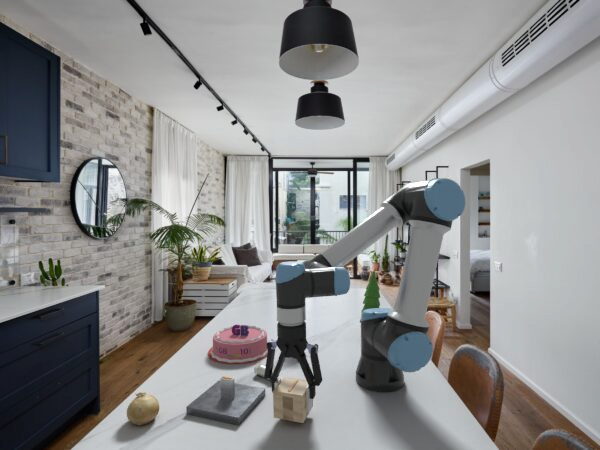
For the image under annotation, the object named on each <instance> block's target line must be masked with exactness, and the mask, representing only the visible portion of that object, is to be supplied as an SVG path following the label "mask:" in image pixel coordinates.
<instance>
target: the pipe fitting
mask: <svg viewBox="0 0 600 450" xmlns="http://www.w3.org/2000/svg"><path fill="white" fill-rule="evenodd" d="M265 367H266V364H265V365H263V364H262V363H256V365H254V367H253V373H254V374H255V375H258V376H261V377H262V378H265V377H264V375H265ZM275 367H276V365H275V364H274V363H273V370H272V373H273V372H274V369H275ZM266 380H269V381H271V380H270V379H268V378H267V379H266Z"/></svg>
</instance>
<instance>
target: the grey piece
mask: <svg viewBox="0 0 600 450" xmlns="http://www.w3.org/2000/svg"><path fill="white" fill-rule="evenodd" d="M235 381H236V380H235V377H231V376H227V375H223V376H222V377H220V379H219V380H217V381H216V382H215V383H214V384H213V385H211V386H210V387H209V388H207V389H206V390H205V391H204V392H203V393H201V395H199V396H198V397H197V398H196V399H194V400H193V401H191V402H190V403H189V404H188V405H187V406H186V409H185V412H186V415H188V416H189V415H190V416H194V417H198V418H202V419H207V420H211V421H218V422H222V423H226V424H230V425H235V426H240V424H241V423H243V421H244V420H245V419H246V418H247V417H248V416H249V415H250V413H251V412H253V410H254V409H255V408H256V406H258V404H259V403H260V402H261V400H262V399H264V397H265V396H266V388H264V387H260V386H254V385H247V384H241V383H237V382H235Z"/></svg>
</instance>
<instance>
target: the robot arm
mask: <svg viewBox="0 0 600 450" xmlns="http://www.w3.org/2000/svg"><path fill="white" fill-rule="evenodd" d="M465 208H466V195H465V193H464V190H462V188H461V186H460V185H459V184H458V183H457V182H456V181H455V180H453V179H451V178H446V177H445V178H443V177H442V178H439V177H437V178H436V177H434V178H432V179H426V180H420V181H414V182H410V183H407V184H406V185H404V186H402V187H401V188H400V189H399V190H397V191H396V192H395V193H393V194H392V195H390V196H389V197H388V198H387V199H385V200H384V201H383V202H381V204H380V208H379V209H377V210H376V211H374V212H373V213H372V214H371V215H369V216H368V217H367V218H365V219H364V220H362V221H361V222H360V223H358V224H357V225H356V226H354V227H353V228H352V229H350V230H349V231H348V232H347V233H345V234H344V235H342V236H341V237H339V239H337V240H336V241H334V242H333V243H332V244H331V245H330V246H328V247H327V248H325V249H324V250H323V251H321V252H320V253H319V254H317V255H316V256H314V257H313V258H312V259H306V260H304V261H293V260H292V261H283V262H280V263H278V264H277V266H276V267H275V291H276V293H275V294H276V296H275V297H276V321H277V323H276V329H277V331H276V333H277V339H276V340H274V339H270V340H269V341H267V350H268V353H267V357H266V361H265V365H266V367H265V375H264V377H263V378H265V379H266V380H269V379H270V380H269V381H270V383H271V392H272V394H273V390H274V389H275V388H276V387H277V386H278V384H279V383H280V382H281V381H282V378H280V377H279V376H280V373H281V371H282V369H283V366H284V363H285V361H286V358H288V359H289V358H291V359H295V360H296V361H297V363H298V364H299V367H300V369H301V370H302V373H303V376H304V379H305V380H307V383H308V385H307V386H306V412H307V413H309V414H310V412H311V410H312V409H313V407H312V399H313V400H314V399H315V396H317V395H316V393H317V391H316V387H319V386H320V385H321V384H322V382H323V375H322V369H321V365H320V361H319V360H320V359H319V355H318V352H319V345H318V343H315V344H311V343H309V342H308V340H307V322H306V319H307V318H306V317H307V316H306V315H307V314H306V313H307V310H306V299H308V298H309V299H310V298H322V297H333V296H335V297H337V296H343V295H347V294H348V292H349V291H350V288H351V276H350V272H349V271H348V269H347V268H346V267H345V266H346V265H347V264H349V263H350V262H351V261H353V260H354V259H355V258H357V257H358V256H359V255H360V254H362V253H363V252H365V251H366V250H367V249H369V248H370V247H371V246H373V245H374V244H375V243H376V242H377V241H379V240H380V239H382V238H383V237H384V236H385V235H386V234H388V233H389V232H390V231H392V230H393V229H394V228H401V227H402V226H404V225H405V224H407V223H408V224H409V225H410V226H411V234H410V237H409V243H408V247H407V251H406V255H405V259H404V263H403V268H402V273H401V277H400V283H399V286H398V291H397V295H396V299H395V300H396V301H395V303H394V308H389V307H380V308H372V309H366V310H364V311H363V312H362V313H361V316H360V320H361V321H360V320H359V323H360V322H361V323H360V352H361V354H360V358H359V361H358V363H357V366H356V370H355V380H356V382H357V384H358V385H359V386H361V387H362V388H364V389H367V390H370V391H373V392H374V391H375V392H382V393H385V392H386V393H387V392H394V391H398V390H400V389H401V388H403V386H404V385H405V384H404V383H405V377H404V372H405V373H415V372H418V371H420V370H422V368H425V367H426V366H427V365H428V363H429V362H430V360H431V359H432V357H433V353H434V345H433V342H432V341H431V340H432V339H430V336H428V335H429V334H428V333H429V329H430V323H429V322H428V321H427V318H426V316H427V311H428V307H429V302H430V297H431V293H432V288H433V285H434V284H433V283H434V279H435V274H436V270H437V267H438V266H437V265H438V262H439V257H440V252H441V248H442V244H443V240H444V235H445V234H446V233H448V232H450V231H451V229H452V225H453V222H454V221H455V220H456V219H458V218H459V217H460V216H461V215H462V214H463V213H464V211H465ZM277 347H278V349H279V350H280V353H279V356H278V358H277V362H276V365H275V369H274V372H273V373H272V370H273V364H274V363H275V354H276V348H277ZM306 349H307V351H308V354H309V355H310V357H309V358H310V363H311V366H310V364H309V361H308V359H307V355H306V352H305V351H306ZM267 378H268V379H267Z"/></svg>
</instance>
